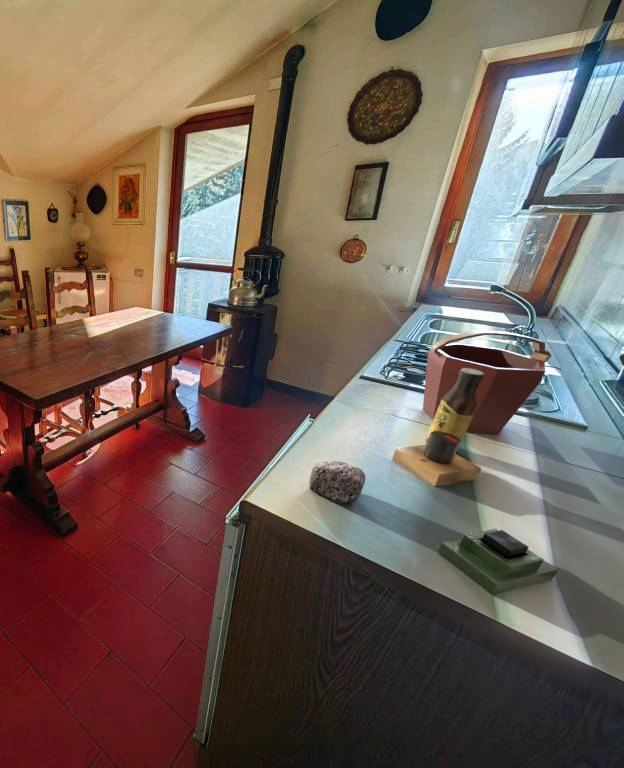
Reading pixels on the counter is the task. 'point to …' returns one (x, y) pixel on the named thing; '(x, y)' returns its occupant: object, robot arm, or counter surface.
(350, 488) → the pumice stone
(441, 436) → the dark grey short cylinder
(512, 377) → the bucket
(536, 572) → the block
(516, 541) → the plate
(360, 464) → the counter surface
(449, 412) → the sauce bottle
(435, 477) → the flat wooden block
